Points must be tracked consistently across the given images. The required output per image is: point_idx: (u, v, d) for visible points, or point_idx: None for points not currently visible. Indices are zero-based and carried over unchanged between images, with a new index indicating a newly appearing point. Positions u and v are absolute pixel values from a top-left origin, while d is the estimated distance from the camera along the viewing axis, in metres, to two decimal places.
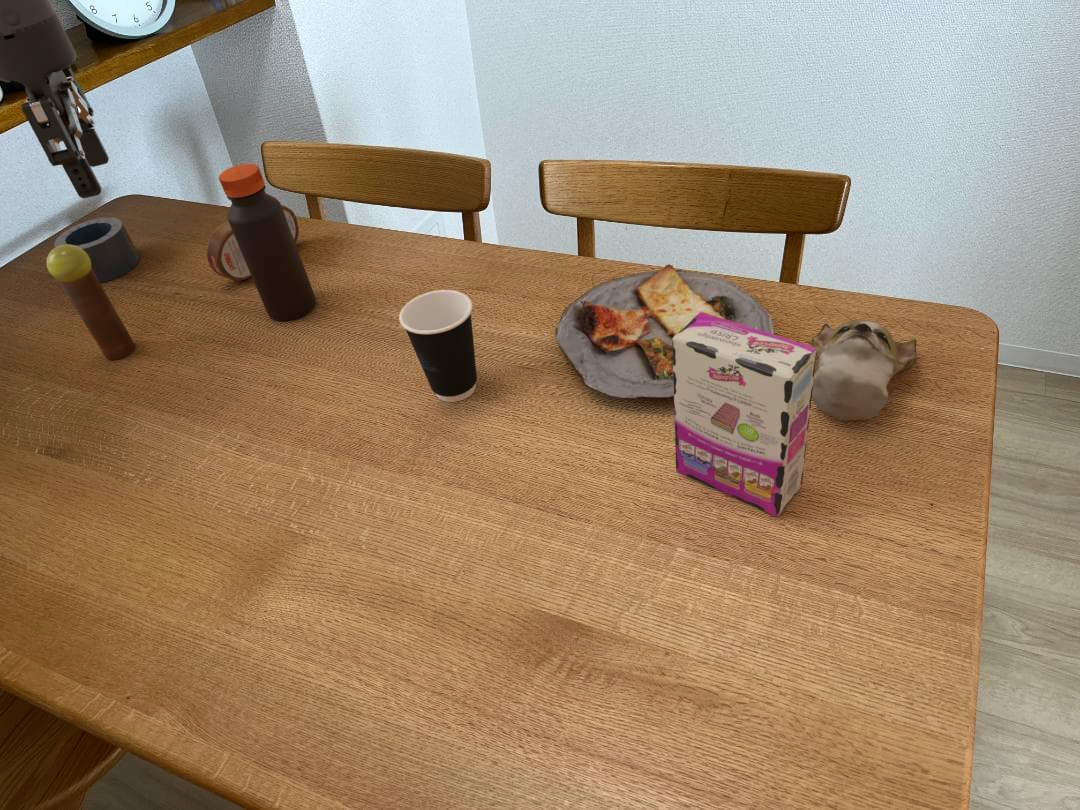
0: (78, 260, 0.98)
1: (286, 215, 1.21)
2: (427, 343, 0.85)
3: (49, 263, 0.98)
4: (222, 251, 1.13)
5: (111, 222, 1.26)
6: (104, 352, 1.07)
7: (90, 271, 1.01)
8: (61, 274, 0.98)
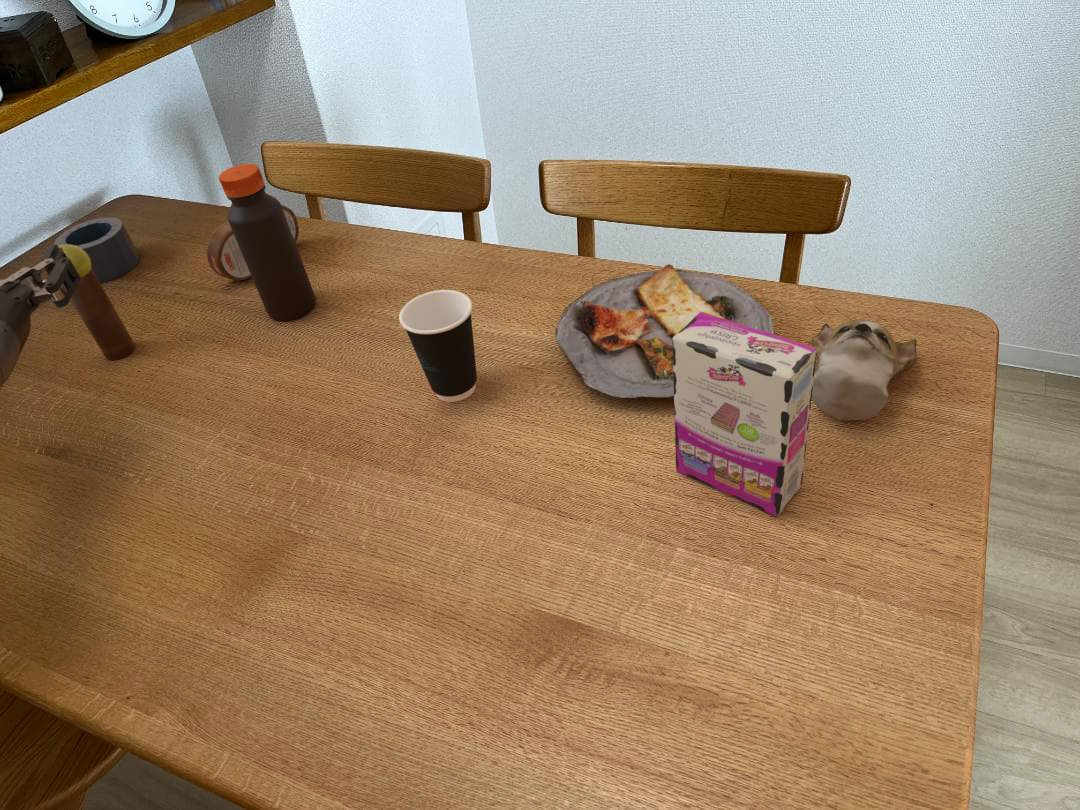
0: (78, 260, 0.98)
1: (286, 215, 1.21)
2: (427, 343, 0.85)
3: None
4: (222, 251, 1.13)
5: (111, 222, 1.26)
6: (104, 352, 1.07)
7: (90, 271, 1.01)
8: None
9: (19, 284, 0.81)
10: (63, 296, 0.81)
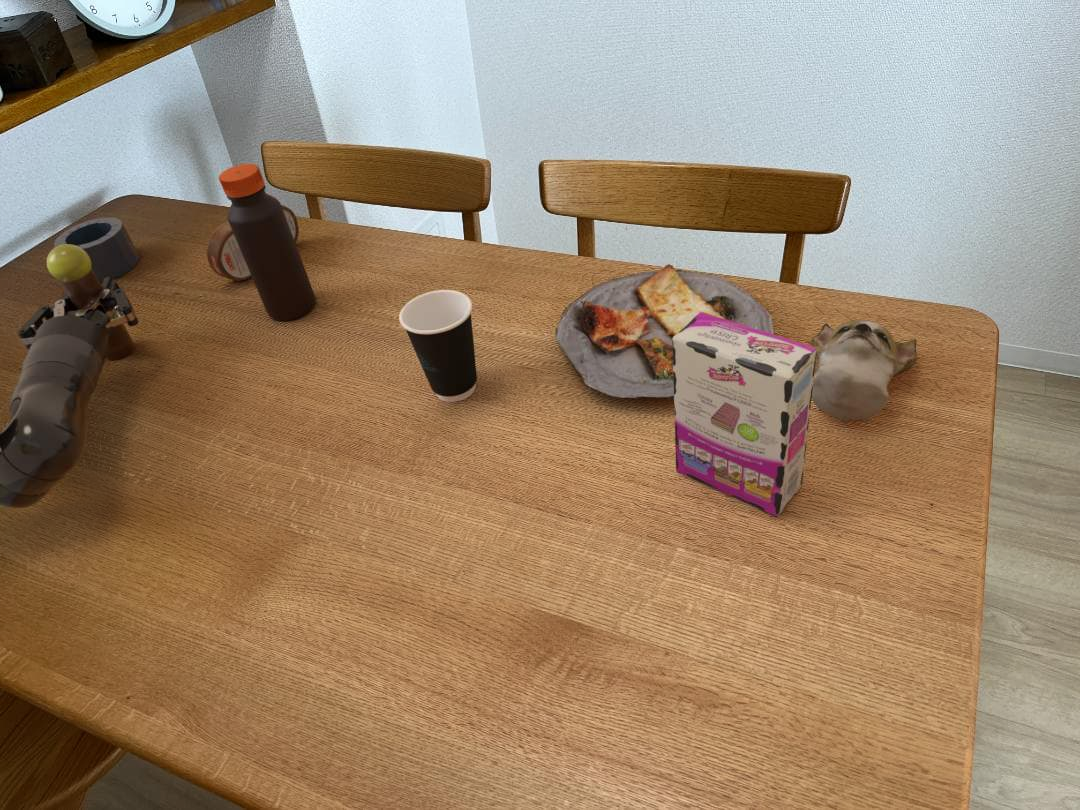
0: (78, 260, 0.98)
1: (286, 215, 1.21)
2: (427, 343, 0.85)
3: (49, 263, 0.98)
4: (222, 251, 1.13)
5: (111, 222, 1.26)
6: None
7: (90, 270, 1.01)
8: (61, 274, 0.98)
9: (98, 312, 0.98)
10: (135, 316, 0.99)
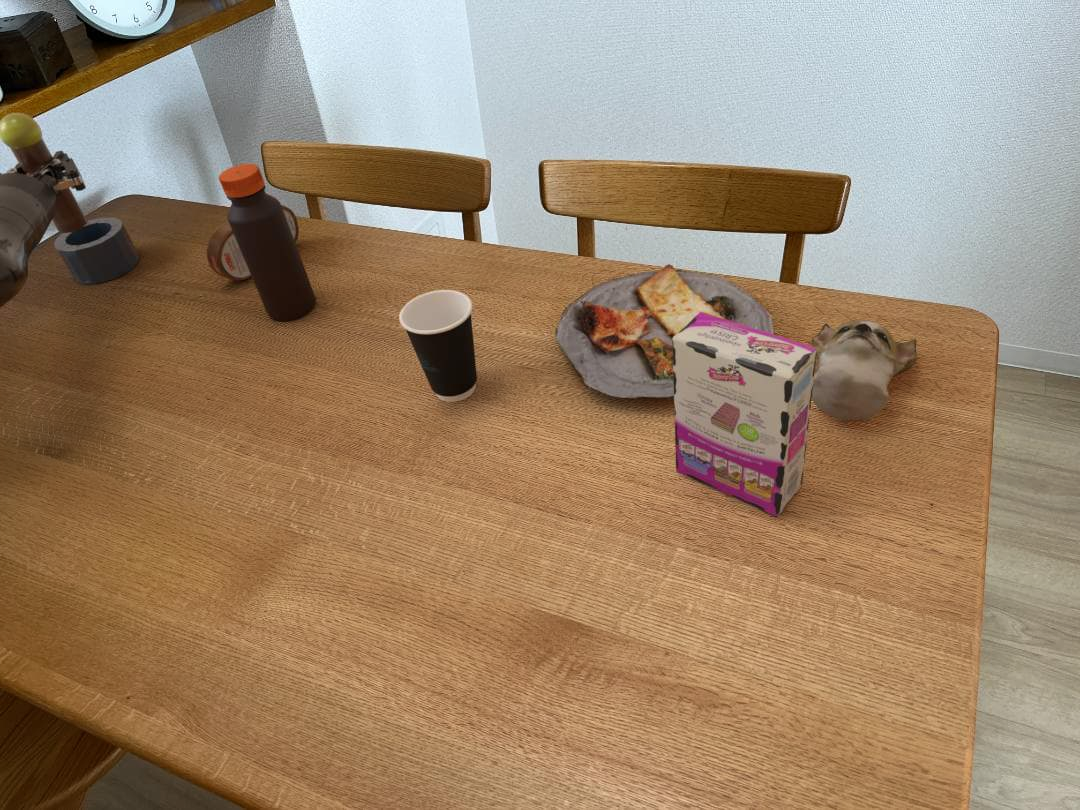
0: (28, 127, 1.03)
1: (286, 215, 1.21)
2: (427, 343, 0.85)
3: (0, 129, 1.03)
4: (222, 251, 1.13)
5: (111, 222, 1.26)
6: (56, 225, 1.12)
7: (40, 140, 1.06)
8: (12, 140, 1.03)
9: (46, 176, 1.03)
10: (82, 181, 1.04)
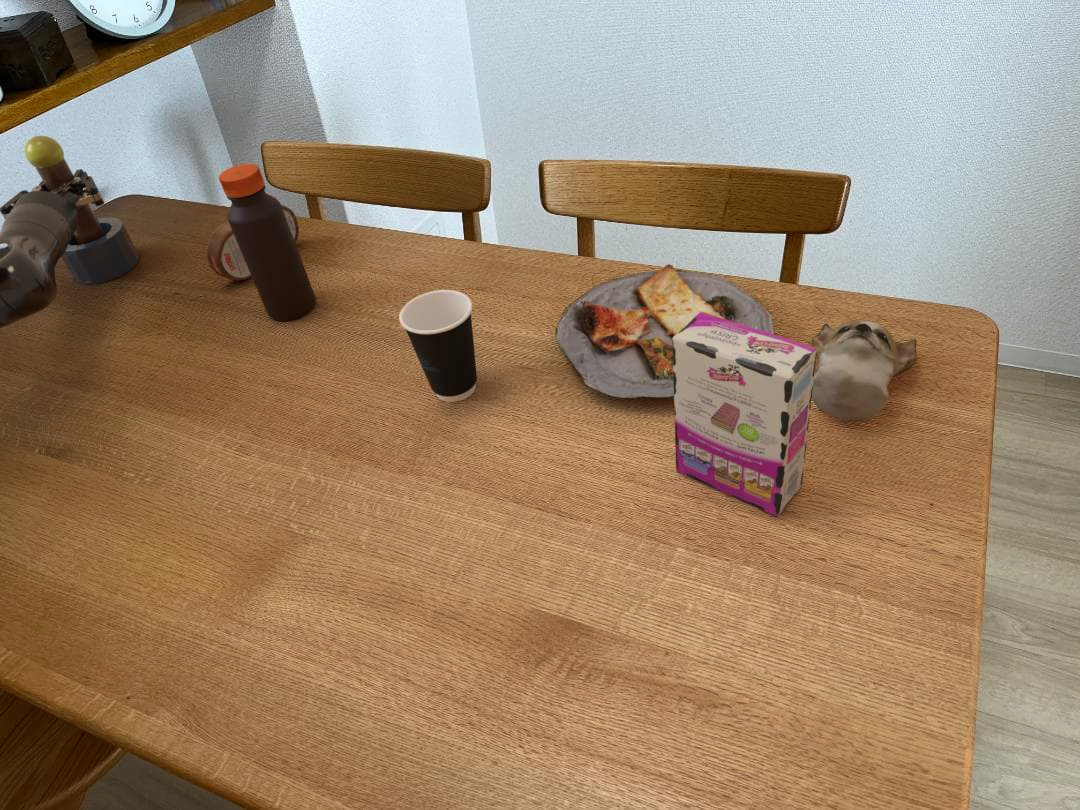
0: (52, 148, 1.14)
1: (286, 215, 1.21)
2: (427, 343, 0.85)
3: (27, 150, 1.13)
4: (222, 251, 1.13)
5: (111, 222, 1.26)
6: (76, 236, 1.22)
7: (62, 159, 1.16)
8: (37, 160, 1.14)
9: (69, 193, 1.14)
10: (101, 197, 1.15)
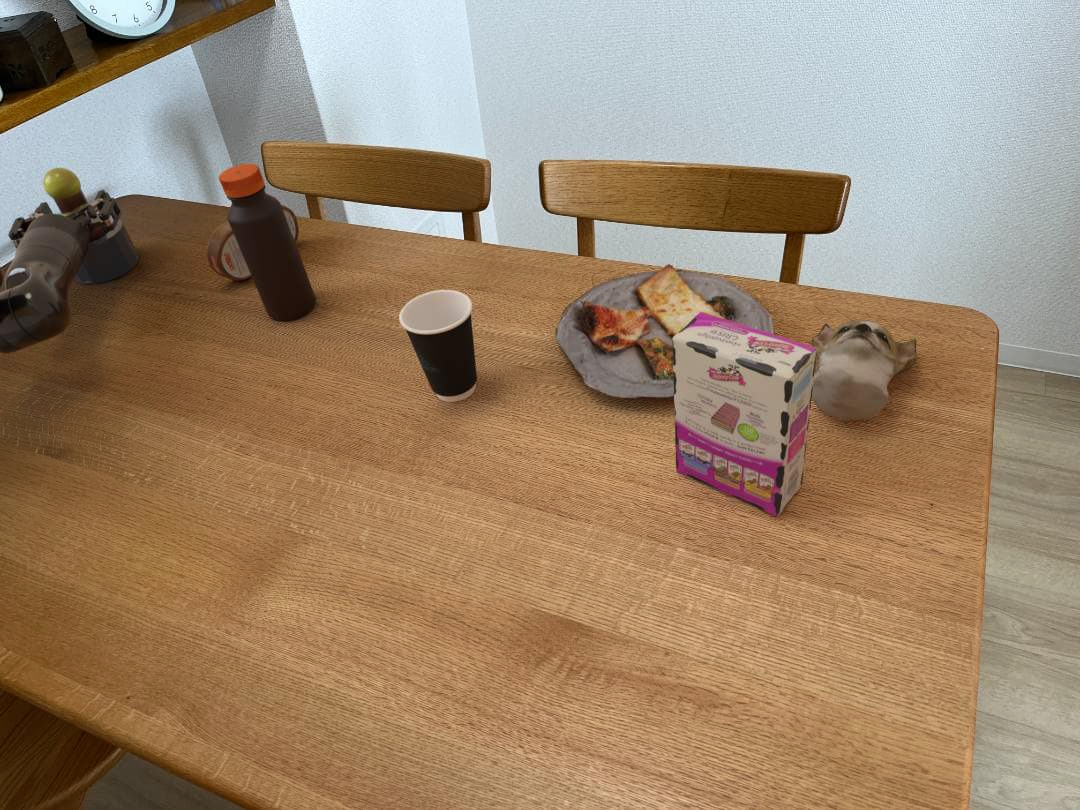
0: (69, 180, 1.17)
1: (286, 215, 1.21)
2: (427, 343, 0.85)
3: (45, 182, 1.17)
4: (222, 251, 1.13)
5: None
6: None
7: (79, 191, 1.19)
8: (55, 192, 1.17)
9: (80, 215, 1.16)
10: (111, 223, 1.16)
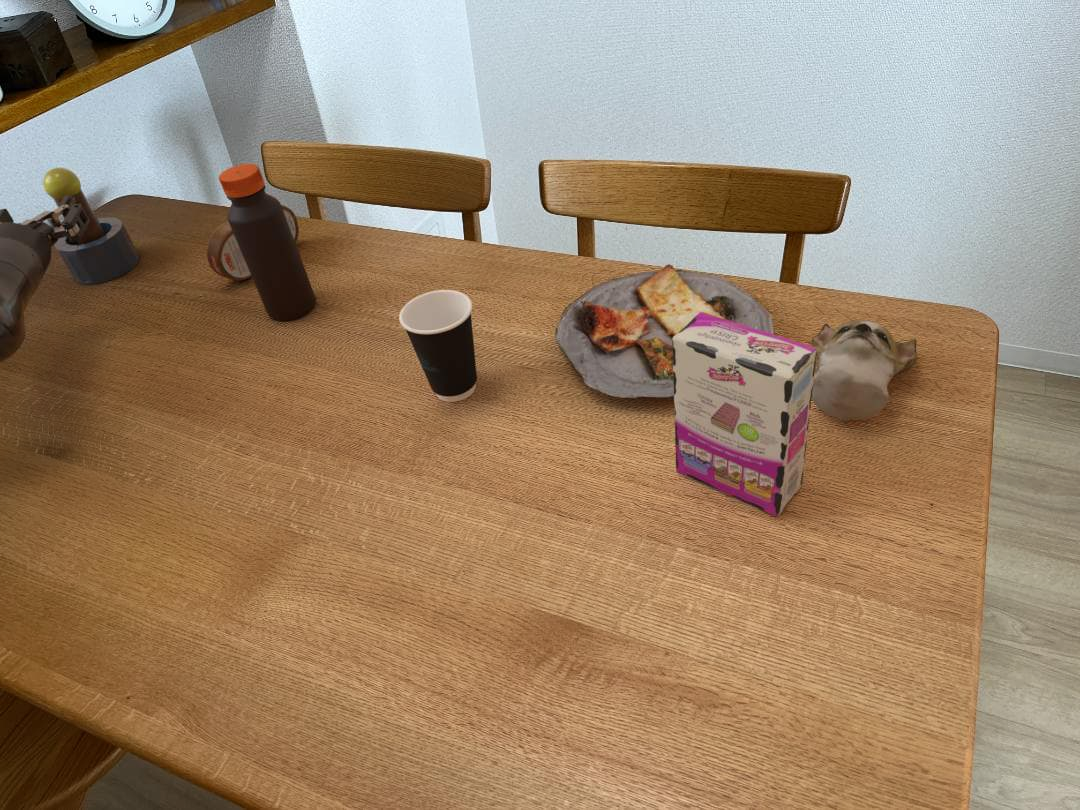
0: (69, 180, 1.17)
1: (286, 215, 1.21)
2: (427, 343, 0.85)
3: (45, 182, 1.17)
4: (222, 251, 1.13)
5: (111, 222, 1.26)
6: None
7: (79, 191, 1.19)
8: (55, 192, 1.17)
9: (42, 223, 1.03)
10: (76, 233, 1.03)
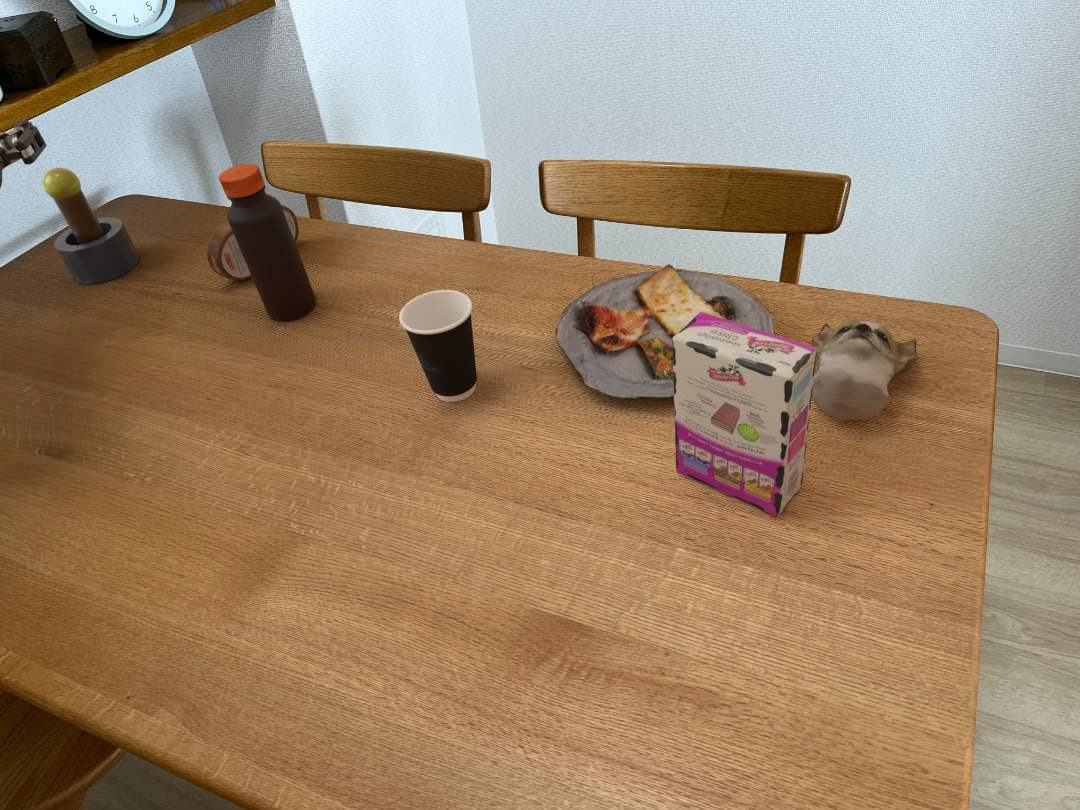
0: (69, 180, 1.17)
1: (286, 215, 1.21)
2: (427, 343, 0.85)
3: (45, 182, 1.17)
4: (222, 251, 1.13)
5: (111, 222, 1.26)
6: None
7: (79, 191, 1.19)
8: (55, 192, 1.17)
9: None
10: (30, 155, 0.96)
